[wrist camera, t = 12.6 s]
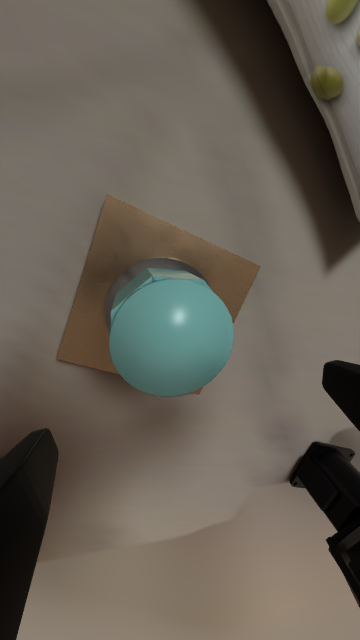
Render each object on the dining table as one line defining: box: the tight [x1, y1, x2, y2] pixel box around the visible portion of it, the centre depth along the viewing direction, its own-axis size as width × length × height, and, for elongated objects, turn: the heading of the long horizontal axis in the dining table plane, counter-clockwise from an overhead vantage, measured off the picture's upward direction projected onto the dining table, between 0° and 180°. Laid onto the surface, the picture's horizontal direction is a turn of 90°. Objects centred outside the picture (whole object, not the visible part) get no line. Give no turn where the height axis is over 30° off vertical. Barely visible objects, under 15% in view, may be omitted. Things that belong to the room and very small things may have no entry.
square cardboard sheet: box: [57, 194, 261, 394], centre depth 16 cm, size 12×12×5 cm
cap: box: [109, 268, 234, 397], centre depth 14 cm, size 6×6×5 cm
